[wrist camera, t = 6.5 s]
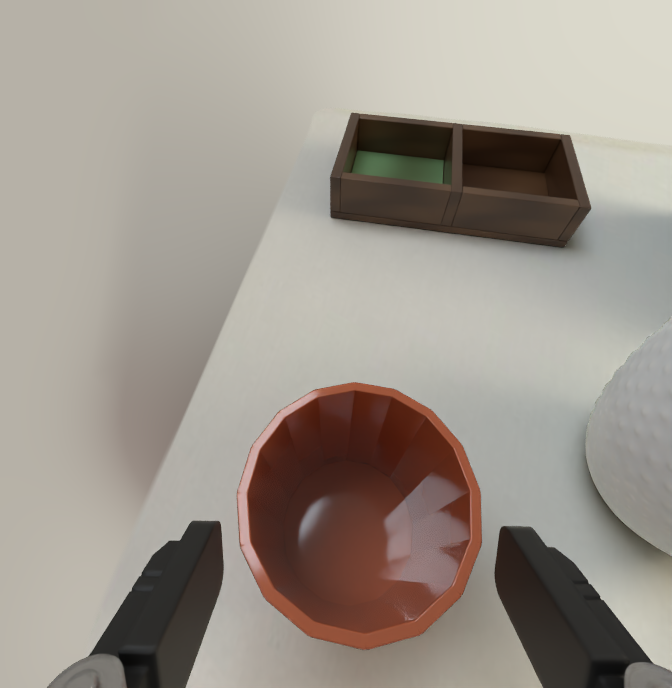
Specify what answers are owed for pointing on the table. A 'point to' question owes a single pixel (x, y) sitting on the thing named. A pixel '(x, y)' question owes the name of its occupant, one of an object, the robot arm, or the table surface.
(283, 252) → the table surface
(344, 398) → the cup
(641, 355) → the mug
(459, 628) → the table surface
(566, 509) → the table surface
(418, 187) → the holder
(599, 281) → the table surface
